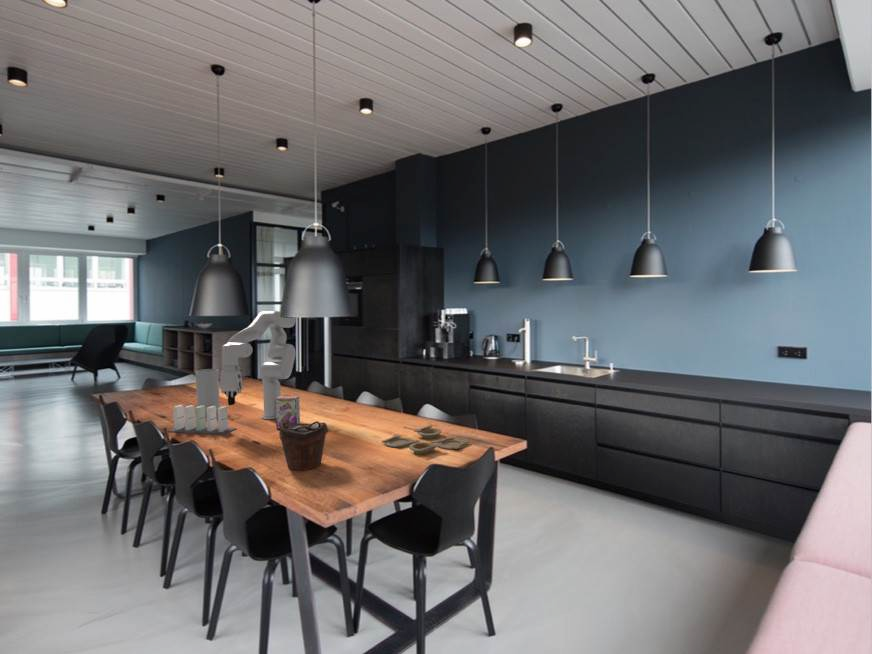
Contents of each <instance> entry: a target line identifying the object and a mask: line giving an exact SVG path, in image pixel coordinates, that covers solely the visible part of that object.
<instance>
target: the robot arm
mask: <svg viewBox="0 0 872 654" xmlns="http://www.w3.org/2000/svg"><path fill="white" fill-rule="evenodd" d="M280 312H281V311H278V310H275V311H274V310H268V311H267V310H265V311H260V312H259V313H258V314H257V316H256V317H255V318H254V319H253V320H252V322H251V323H250V324H249V325H248V326H247V327H245V328H244V329H242V330H240V331H239V332H237V333H235V334H234V335H232V336H231V337H230V339H228V341H227V342H226V344H223V345H222V347H221V359H222V361H221V362H222V364H221V367H222V371H221V372H220V373H221V374H220V379H219V380H220V381H219V389H220V391H221V394H224V395H226V398H227V404H228V406H234V405H235V404H236V397H237V395H239V394H241V393H242V390H243V386H244V385H243V377H242V373H241V371H240V369H241V366H239V358H248V357H250V356H251V355H252V353H253V347H252V345H251V344H250V343H249V342H253V341H255V340H258V339H260V338H262V337H263V335H264V334H265V332H267V330H268V328H269V329H270V333H271V337H270V341H269V345H268V350H267V358H268V359H269V360H271V361H266V362H264V363H262V364H261V365H260V369H259V371H260V377H261V381H262V394H263V398H262V399H263V414H262V415H261V419H263V420H276V401H275V398H277V397H282V393H281V392H282V390H281V389H282V388H281V386H282V385H281V383H280V381H279V380H285V379H289V377H290V376H291V374H292V371H293V368H294V364H295V359H296V349H295V346H294V345H293V344H290V343H287V333H286V331H285V330H284V329H283V328H286V329H287V328H293V327H295V324H296V322H297V321H296V317H295V318H281V317H280Z"/></svg>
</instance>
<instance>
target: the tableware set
mask: <svg viewBox="0 0 872 654" xmlns="http://www.w3.org/2000/svg"><path fill="white" fill-rule="evenodd" d="M412 431H413V432H415V433H417V434H418V435H419V436H421V437H422V439H425V440H426V439H427V440H432V441H430V442H429V441H421V440H419V439H415V440H414V439H413V438H410V437H406V436H405V437H403V436H402V434H394V435H393V436H391V437H388V438H386V439H383V440H381V443H382V444H384V445H385V446H386V447H387V448H388V447H390V448H405V447H408V448H409V450H410V451H413V452H414V453H415V454H416V455H428V454H430V453H431V452H432V451H433V450H435V449H436V448H440V449H443V450H460V449H463V448H465V447H466V446H467V444H469V443H470V441H469V440H465V441H464V440H462V439H456V438H455V437H454V436H451V437H447V438H446V437H445V438H441V439H436V438H437V437H438V435H440V434H442V430H441V429H440V428H436V427H433V424H429V425H427V426H423V427H421V428H415V429H413V430H412ZM433 439H434V440H433ZM435 439H436V440H435Z"/></svg>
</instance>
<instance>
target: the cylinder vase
mask: <svg viewBox="0 0 872 654" xmlns="http://www.w3.org/2000/svg"><path fill="white" fill-rule="evenodd" d="M194 372H195V374H194V375H195V390H196V407H199V406H205V414H206V408H208V407H211V406H216V413H218V411H217V408H220V407H221V403H220V402H221V401H220V400H221V399H220V381H219V380H220V379H219V369H218V368H217V369H216V368H206V369H198V370H195V371H194Z"/></svg>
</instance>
